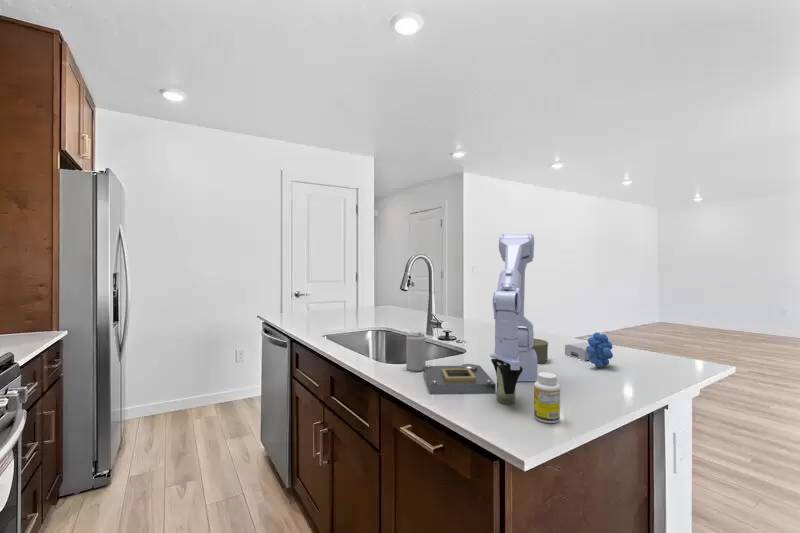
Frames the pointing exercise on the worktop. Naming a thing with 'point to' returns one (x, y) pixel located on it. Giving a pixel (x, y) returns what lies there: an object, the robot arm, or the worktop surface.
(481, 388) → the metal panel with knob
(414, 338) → the beverage can
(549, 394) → the supplement bottle
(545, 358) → the can
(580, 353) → the charger
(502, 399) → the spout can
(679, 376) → the worktop surface
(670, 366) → the worktop surface
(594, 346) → the grapes
